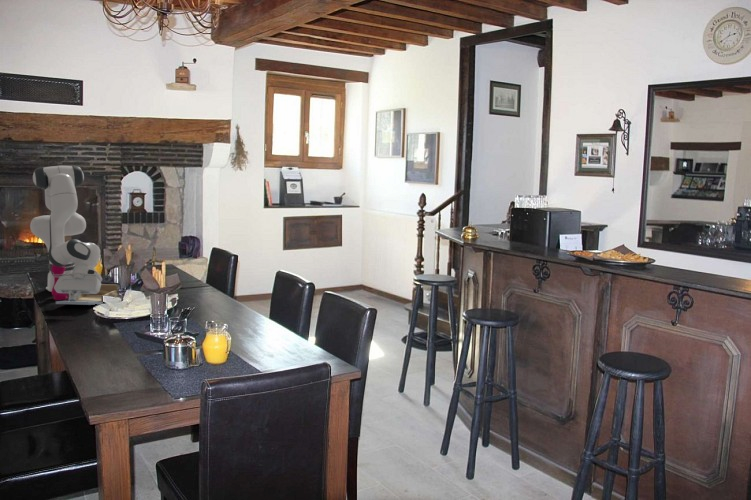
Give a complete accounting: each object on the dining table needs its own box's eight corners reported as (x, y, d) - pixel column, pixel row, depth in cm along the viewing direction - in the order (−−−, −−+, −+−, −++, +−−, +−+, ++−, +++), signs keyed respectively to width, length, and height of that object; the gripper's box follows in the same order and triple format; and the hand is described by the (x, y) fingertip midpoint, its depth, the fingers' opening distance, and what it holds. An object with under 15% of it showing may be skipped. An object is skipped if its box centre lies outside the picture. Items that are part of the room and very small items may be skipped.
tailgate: (72, 300, 309) (55, 301, 295) (104, 301, 307) (88, 302, 294) (71, 303, 309) (55, 303, 295) (104, 304, 307) (88, 304, 294)
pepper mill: (72, 299, 319) (69, 259, 316) (63, 303, 312) (60, 261, 309) (57, 299, 320) (54, 258, 317) (49, 302, 313) (45, 261, 310)
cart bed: (88, 297, 323) (87, 283, 322) (118, 298, 322) (117, 284, 320) (73, 304, 309) (72, 290, 308) (104, 305, 308) (103, 290, 307)
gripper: (57, 270, 301) (46, 296, 293) (100, 271, 299) (90, 297, 291) (63, 278, 306) (53, 303, 298) (105, 279, 304) (96, 304, 296)
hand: (72, 300), depth 294 cm, fingers closed, pressing on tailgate
